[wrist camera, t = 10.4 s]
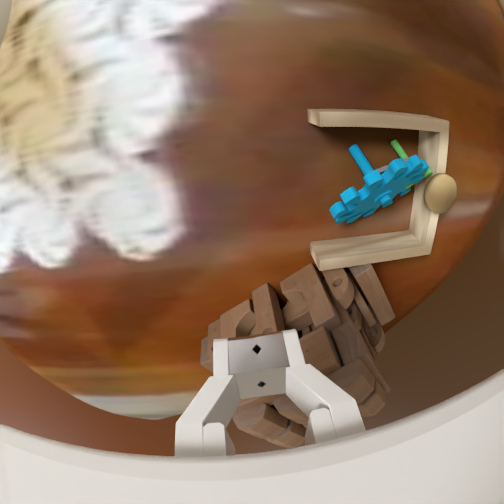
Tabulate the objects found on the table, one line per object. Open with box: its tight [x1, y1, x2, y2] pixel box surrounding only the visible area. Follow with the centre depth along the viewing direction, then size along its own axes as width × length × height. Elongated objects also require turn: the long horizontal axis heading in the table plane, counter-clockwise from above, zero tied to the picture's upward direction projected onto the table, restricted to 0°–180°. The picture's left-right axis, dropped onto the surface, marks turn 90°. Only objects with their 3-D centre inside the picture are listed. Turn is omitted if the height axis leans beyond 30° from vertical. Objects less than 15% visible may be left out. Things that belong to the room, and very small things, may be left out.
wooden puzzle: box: [200, 263, 395, 448], centre depth 27 cm, size 22×15×19 cm, turn 125°
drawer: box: [307, 109, 457, 271], centre depth 24 cm, size 14×15×4 cm
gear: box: [330, 140, 433, 224], centre depth 23 cm, size 11×6×10 cm
